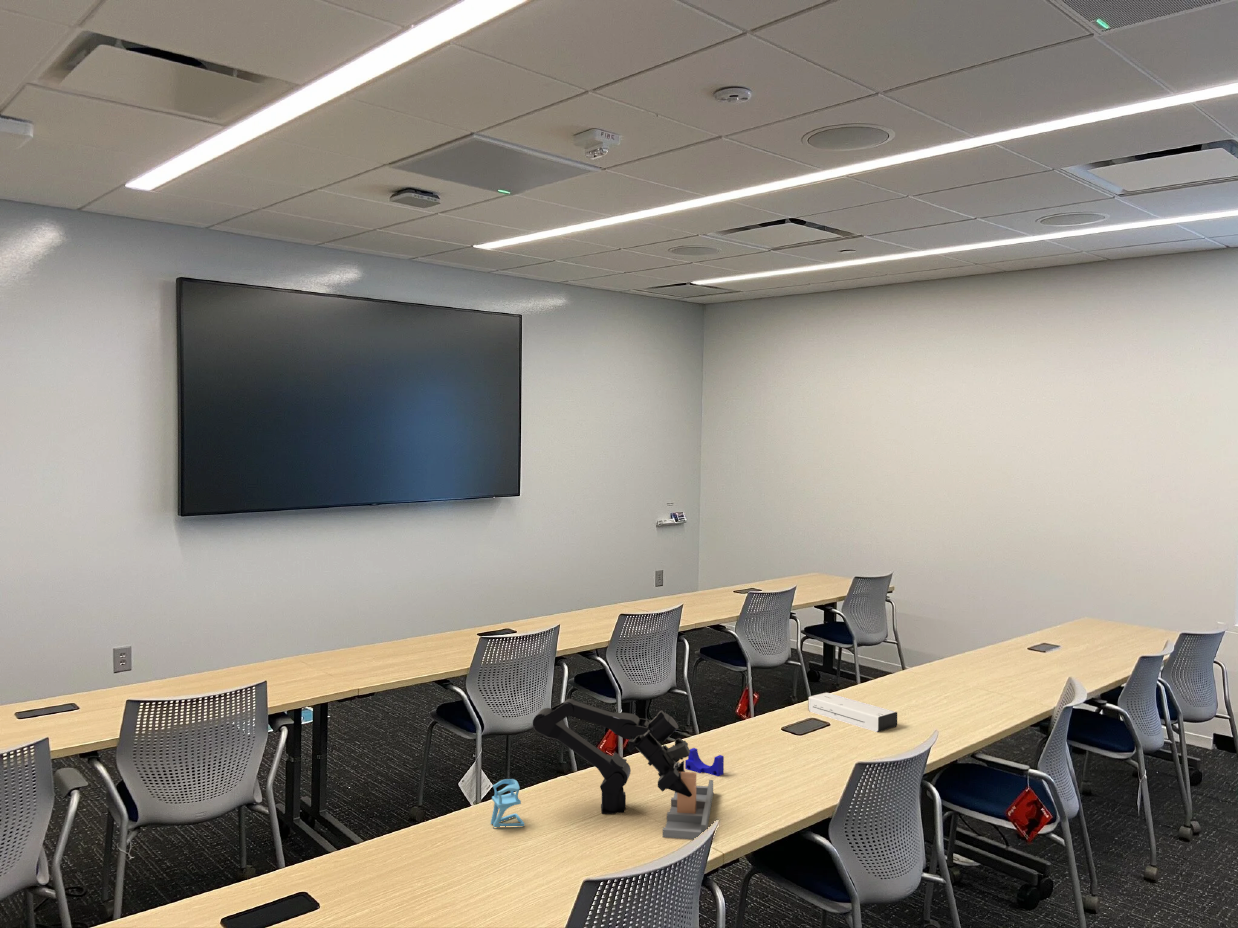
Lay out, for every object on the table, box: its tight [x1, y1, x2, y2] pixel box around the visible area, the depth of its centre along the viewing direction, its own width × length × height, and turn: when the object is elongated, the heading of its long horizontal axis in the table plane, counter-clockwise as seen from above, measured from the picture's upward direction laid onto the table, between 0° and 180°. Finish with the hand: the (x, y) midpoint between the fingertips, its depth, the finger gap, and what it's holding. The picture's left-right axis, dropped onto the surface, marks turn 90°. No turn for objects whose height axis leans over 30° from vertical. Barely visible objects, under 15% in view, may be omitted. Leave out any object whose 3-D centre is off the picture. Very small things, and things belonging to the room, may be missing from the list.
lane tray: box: [662, 779, 714, 840], centre depth 253 cm, size 12×33×4 cm, turn 170°
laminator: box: [807, 692, 898, 733], centre depth 345 cm, size 34×12×6 cm, turn 36°
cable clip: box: [684, 747, 725, 777], centre depth 288 cm, size 12×4×6 cm, turn 49°
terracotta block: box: [677, 771, 697, 814], centre depth 253 cm, size 5×5×11 cm
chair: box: [490, 778, 525, 827], centre depth 247 cm, size 8×8×12 cm
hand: (691, 792), depth 253 cm, fingers closed on terracotta block, 5 cm apart
